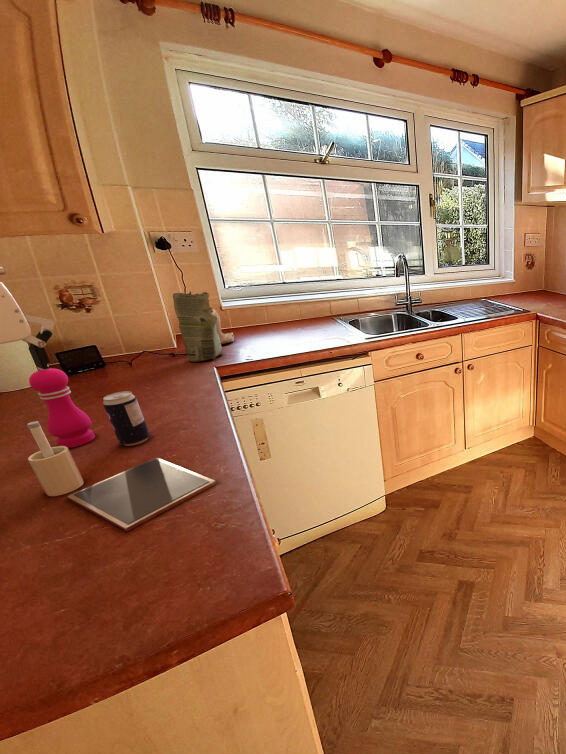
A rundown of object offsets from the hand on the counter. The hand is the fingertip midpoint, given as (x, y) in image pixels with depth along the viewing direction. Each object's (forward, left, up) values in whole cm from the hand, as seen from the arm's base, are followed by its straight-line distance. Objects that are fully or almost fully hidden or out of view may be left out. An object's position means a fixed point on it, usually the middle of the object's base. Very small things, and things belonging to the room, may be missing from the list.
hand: (5, 376), depth 74 cm
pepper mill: (+10, +22, -24) cm, 34 cm away
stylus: (0, 0, -23) cm, 23 cm away
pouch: (+62, +59, -24) cm, 89 cm away
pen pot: (0, 0, -24) cm, 24 cm away
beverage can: (+16, +9, -24) cm, 30 cm away
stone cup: (+74, +74, -24) cm, 108 cm away
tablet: (+6, -16, -24) cm, 30 cm away
